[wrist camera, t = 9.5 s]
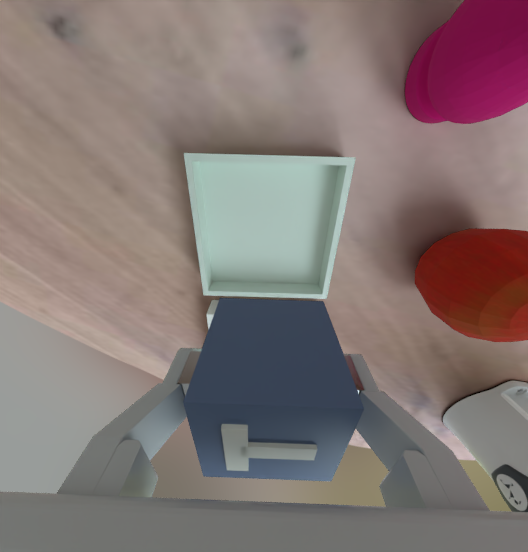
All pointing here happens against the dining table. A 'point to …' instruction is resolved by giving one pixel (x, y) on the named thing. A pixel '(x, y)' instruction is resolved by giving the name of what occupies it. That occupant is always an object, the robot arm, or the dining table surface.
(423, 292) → the apple
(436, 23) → the dining table surface
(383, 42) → the dining table surface
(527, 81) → the pepper mill
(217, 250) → the tray sage
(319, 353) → the letter cube
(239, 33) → the dining table surface
